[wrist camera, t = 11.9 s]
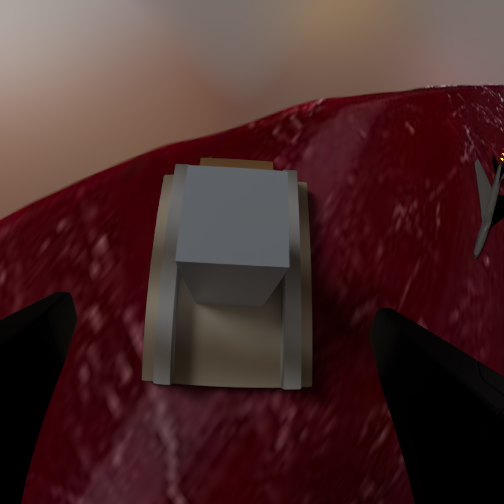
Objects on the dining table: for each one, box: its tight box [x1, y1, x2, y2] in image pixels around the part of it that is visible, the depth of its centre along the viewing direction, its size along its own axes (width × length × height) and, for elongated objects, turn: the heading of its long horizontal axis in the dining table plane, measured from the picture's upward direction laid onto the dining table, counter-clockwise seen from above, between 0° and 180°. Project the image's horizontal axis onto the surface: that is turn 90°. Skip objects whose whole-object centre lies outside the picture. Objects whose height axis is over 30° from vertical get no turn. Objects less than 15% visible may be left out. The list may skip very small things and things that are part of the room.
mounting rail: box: [142, 158, 312, 390], centre depth 21 cm, size 15×11×4 cm
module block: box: [175, 165, 289, 307], centre depth 17 cm, size 5×4×9 cm
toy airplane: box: [473, 153, 504, 258], centre depth 27 cm, size 8×21×2 cm, turn 140°
